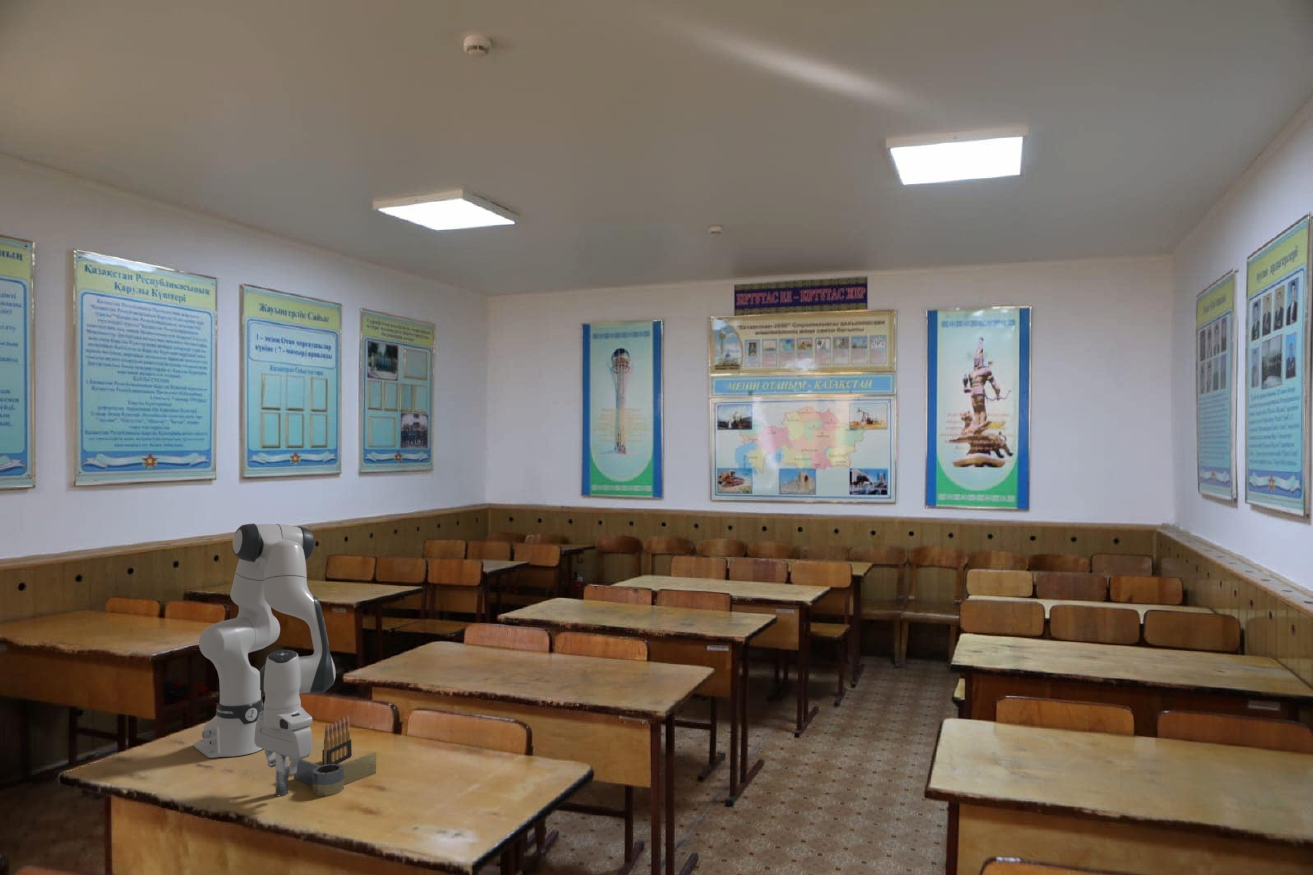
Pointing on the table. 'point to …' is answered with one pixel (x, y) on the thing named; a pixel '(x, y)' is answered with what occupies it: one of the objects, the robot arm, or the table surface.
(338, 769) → the steel leaf
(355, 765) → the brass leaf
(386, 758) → the table surface
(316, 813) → the table surface
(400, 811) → the table surface
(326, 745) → the ammunition clip
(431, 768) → the table surface
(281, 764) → the hinge pin
